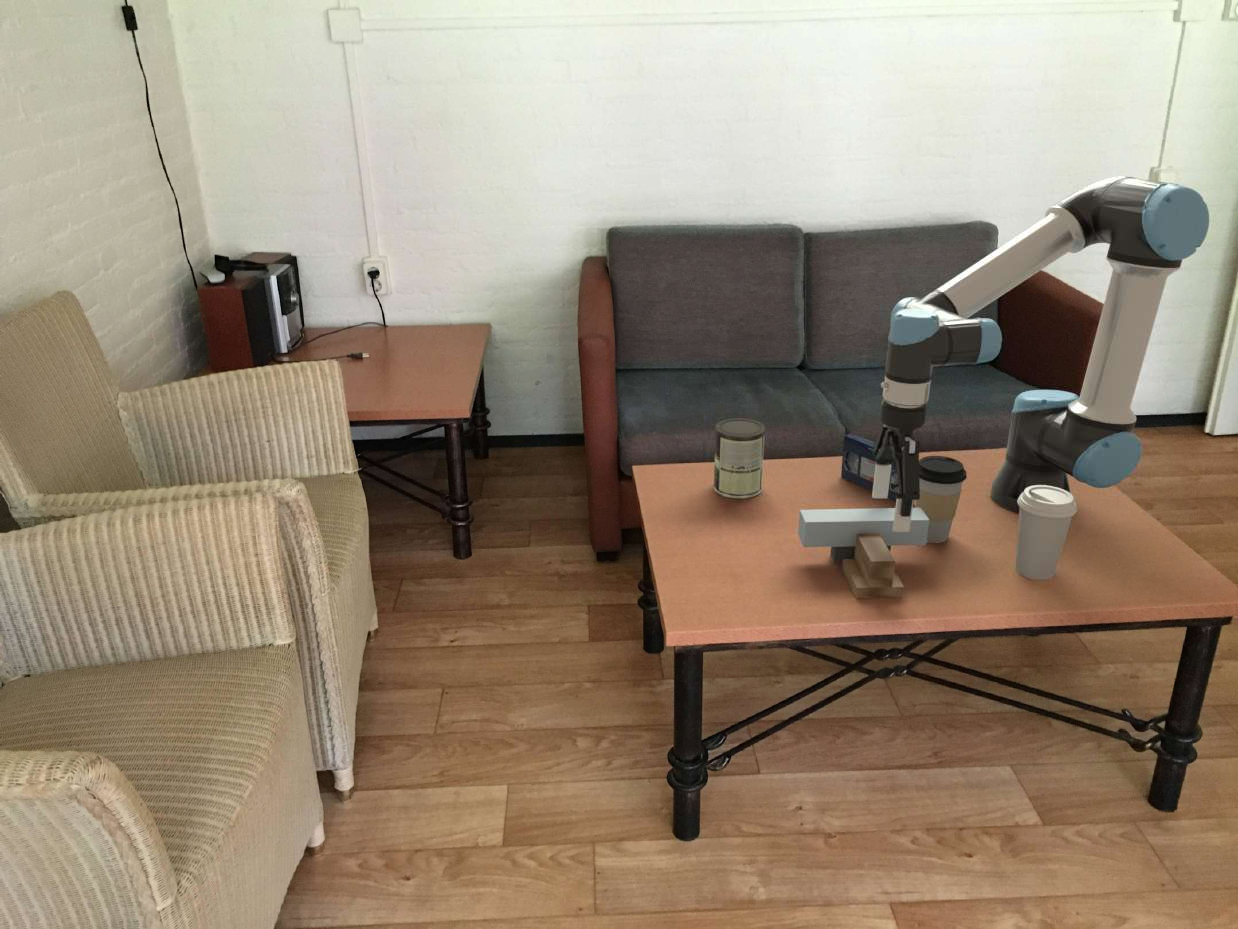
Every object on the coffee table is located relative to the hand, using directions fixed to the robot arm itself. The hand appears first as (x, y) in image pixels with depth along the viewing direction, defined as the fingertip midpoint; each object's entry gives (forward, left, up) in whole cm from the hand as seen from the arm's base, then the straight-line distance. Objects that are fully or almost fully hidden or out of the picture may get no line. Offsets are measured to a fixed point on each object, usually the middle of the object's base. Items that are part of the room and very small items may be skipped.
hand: (889, 513), depth 175 cm
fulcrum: (+5, +8, -9) cm, 13 cm away
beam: (+5, 0, -5) cm, 7 cm away
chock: (+5, 0, -9) cm, 10 cm away
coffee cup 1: (-11, -9, -9) cm, 17 cm away
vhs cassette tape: (-6, -30, -10) cm, 32 cm away
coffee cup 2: (-25, +5, -9) cm, 28 cm away
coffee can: (+23, -32, -9) cm, 40 cm away
